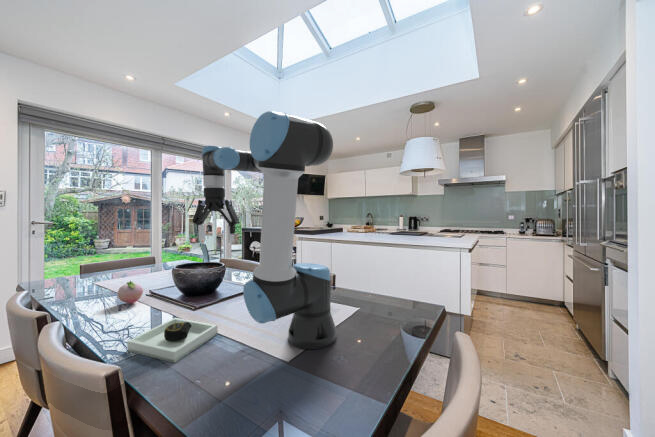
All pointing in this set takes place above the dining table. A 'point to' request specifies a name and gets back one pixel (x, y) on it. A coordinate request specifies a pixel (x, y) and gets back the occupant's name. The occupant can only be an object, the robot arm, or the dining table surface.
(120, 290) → the decorative fruit
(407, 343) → the dining table surface
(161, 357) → the tray
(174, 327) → the tape measure
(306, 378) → the dining table surface
